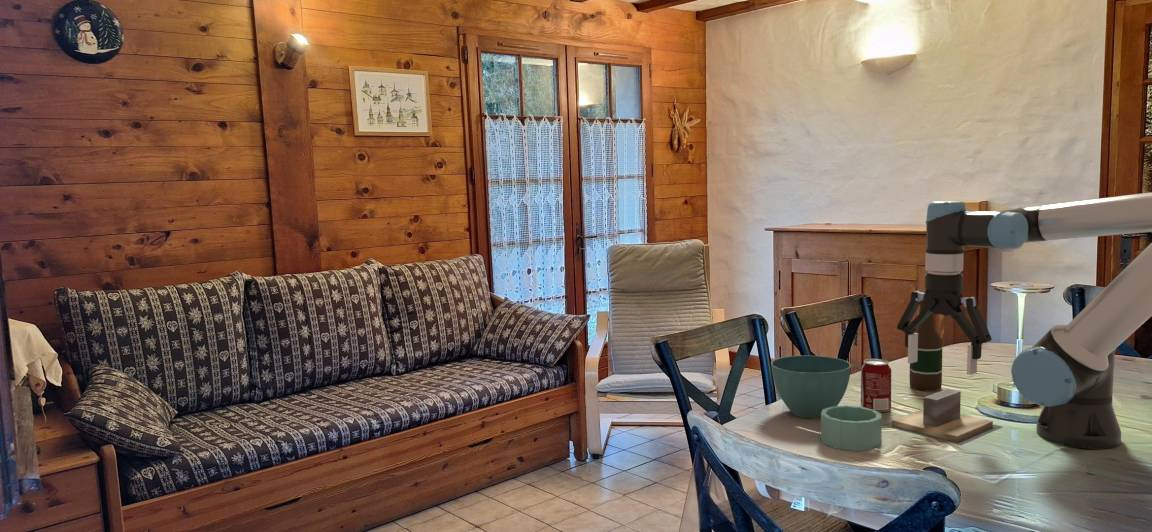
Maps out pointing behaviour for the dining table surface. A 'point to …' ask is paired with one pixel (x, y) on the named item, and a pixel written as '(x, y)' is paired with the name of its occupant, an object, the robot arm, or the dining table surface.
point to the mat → (947, 439)
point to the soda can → (876, 385)
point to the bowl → (851, 428)
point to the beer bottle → (927, 356)
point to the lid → (943, 418)
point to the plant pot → (810, 383)
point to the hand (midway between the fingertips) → (941, 367)
